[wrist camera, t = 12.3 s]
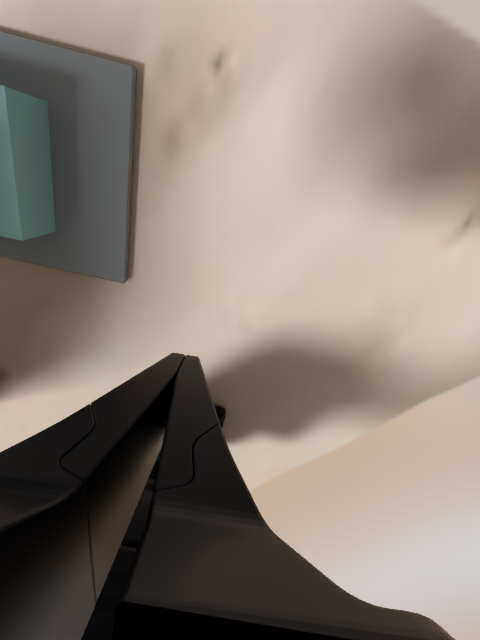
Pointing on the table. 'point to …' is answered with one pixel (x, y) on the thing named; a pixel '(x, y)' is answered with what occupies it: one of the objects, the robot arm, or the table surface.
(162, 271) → the table surface
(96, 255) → the mat
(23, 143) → the slab
